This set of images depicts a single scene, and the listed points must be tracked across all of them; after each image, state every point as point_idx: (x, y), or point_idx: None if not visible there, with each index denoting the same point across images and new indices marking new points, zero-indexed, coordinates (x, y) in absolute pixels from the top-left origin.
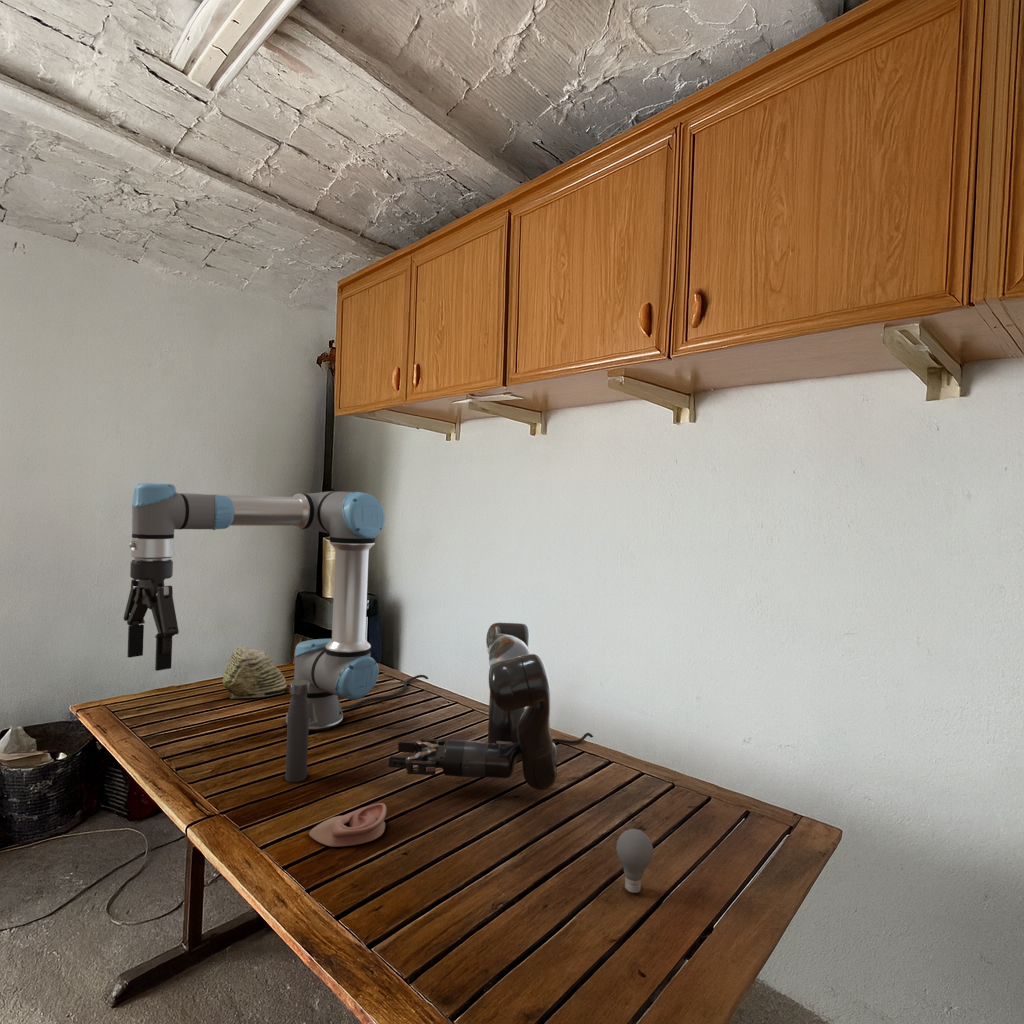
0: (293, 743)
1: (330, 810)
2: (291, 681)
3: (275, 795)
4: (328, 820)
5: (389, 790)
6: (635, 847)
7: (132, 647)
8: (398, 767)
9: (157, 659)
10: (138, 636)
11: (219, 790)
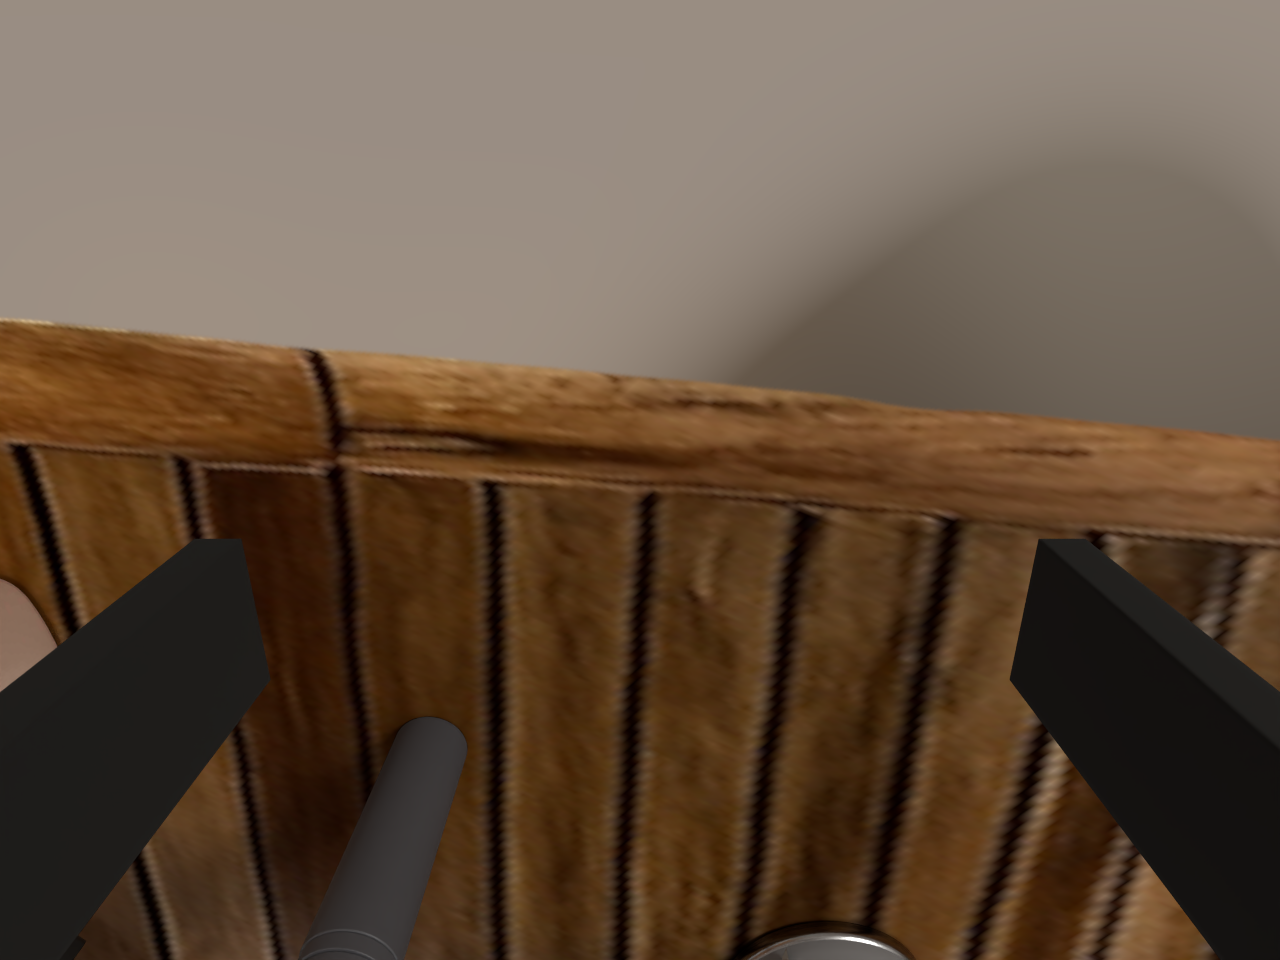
0: (359, 830)
1: None
2: None
3: (348, 643)
4: (7, 652)
5: (161, 868)
6: None
7: (1104, 643)
8: None
9: (103, 613)
10: (1187, 825)
11: (513, 540)
